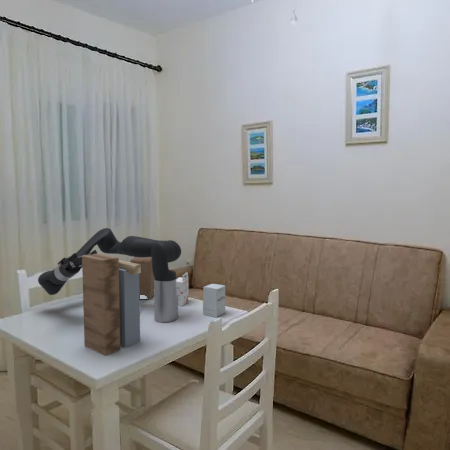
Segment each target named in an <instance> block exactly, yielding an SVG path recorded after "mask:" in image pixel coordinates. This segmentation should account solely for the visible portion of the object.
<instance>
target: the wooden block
mask: <svg viewBox="0 0 450 450" xmlns="http://www.w3.org/2000/svg"><path fill="white" fill-rule="evenodd" d="M129 262H131V263H136V264H141V273H139V294H140V295H145V296H147V298H148V301H149V300H151V299H152V297H154V274H153V271H152V258H151V257H133V258H131V259H130V261H129Z"/></svg>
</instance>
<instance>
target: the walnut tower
mask: <svg viewBox="0 0 450 450" xmlns="http://www.w3.org/2000/svg"><path fill="white" fill-rule="evenodd" d="M119 259H120V258H119V257H116V256H111V255H106V254H101V253H97V254H92V255H85V256H82V268H81V272H82V273H81V274H82V299H83V300H82V304H83V306H82V307H83V336H84V337H83V338H84V339H83V340H84V341H83V343H84V347H86V348H88V349H90V350H93V351H94V352H97V353H99V354H101V355H103V356H108V355H110V354H112V353H116V352H118V351H120V350H121V345H120V309H119Z"/></svg>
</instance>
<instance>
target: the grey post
mask: <svg viewBox="0 0 450 450" xmlns="http://www.w3.org/2000/svg"><path fill="white" fill-rule="evenodd" d="M140 300H141V299H140V294H139V273H138V274H129V273H127V270H123V269H119V309H120V347H123V346H124V348H127V347H130V346H133V345H135V344H138V343H140V342H141V315H140V309H141V308H140V304H141V303H140ZM137 342H138V343H137ZM132 344H133V345H132Z"/></svg>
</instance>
